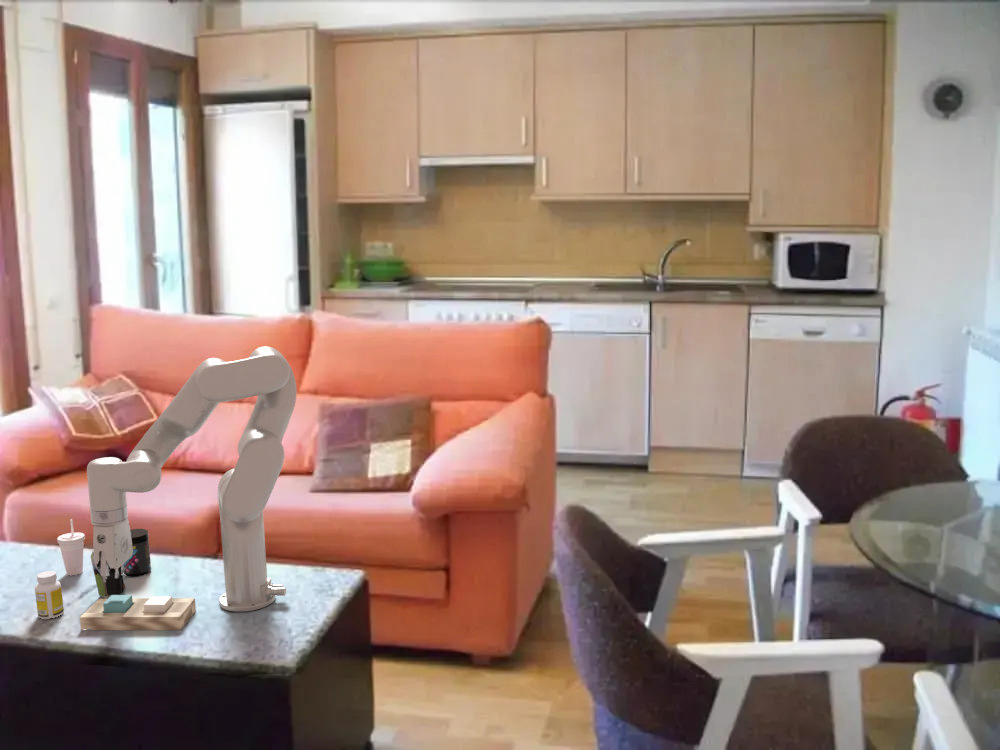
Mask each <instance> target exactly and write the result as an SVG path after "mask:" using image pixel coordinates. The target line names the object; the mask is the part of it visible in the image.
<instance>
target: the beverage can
mask: <svg viewBox="0 0 1000 750" xmlns="http://www.w3.org/2000/svg"><path fill="white" fill-rule="evenodd" d="M90 561H91V566H92V570H93V574H94V579H95V583H96V588H97V593H98V596H100V597H102V598H103V599H108V598H109V597H110V596H111V595H108V594H107V587H106V579H105V576H101V568H100V569H97V568H96V567H95V561H94V548H93V549H92V550H91V555H90ZM123 582H124V591H125V590H126V583H125V579H124V577H123Z"/></svg>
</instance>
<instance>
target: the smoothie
mask: <svg viewBox="0 0 1000 750" xmlns="http://www.w3.org/2000/svg"><path fill="white" fill-rule="evenodd" d="M69 521H70V522H69V523H70V531H71V532H67V533H64V534H63V533H62V535H61V534H60V535H59V536H58V537H57V538H56V539H57V544H59V548H60V549H59V550H60V552H61V556H62V557H61V558H62V560H63V565H64V568H65V572H66V575H67V576H68V575H70V576H71V577H72V575H75V576H78V575H77V574H79V575H81V574H82V573H83V572H84V571H83V570H84V569H83V568H84V545H85V544H84V543H85V542H84V541H85V540H86V535H85V533H83V532H80V531H79V532H75V531H74V520H73V518H71V519H69ZM80 573H81V574H80Z"/></svg>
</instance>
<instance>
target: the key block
mask: <svg viewBox="0 0 1000 750" xmlns="http://www.w3.org/2000/svg"><path fill="white" fill-rule="evenodd" d="M107 599H108V598H98V599H97V600H96V601H95V602H94V603H93V604H92V605H91V606H90V607H89V608H88V609H87V610H86V611H85V612H84V613H83V614H81V615H80V617H79V623H80V630H81V631H84V630H83V629H92V630H91V631H150V630H151V631H171V630H172V631H174V630H175V631H177V630H178V631H181V630H182V628H184V627H185V625H186V624H187V622H188V621H189V620H190V619H191V617H192V616H193V615H194V614H195V612H196V611H197V608H196V598H195V597H183V598H182V597H179V598H177V597H176V598H173V597H172V606H171V607H170V608H169V610H168V611H167V612H163V613H144V604H145V603H146V602H147V601H148V600H149V599H150V598H149V597H146V598H145V597H144V598H143V597H141V598H135V597H134V598H133V597H132V600H133V605H132V607H131V608H130V609H129V610H128V611H127V612H126V613H104V607H103V603H104V602H105V601H106V600H107Z"/></svg>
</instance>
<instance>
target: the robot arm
mask: <svg viewBox="0 0 1000 750" xmlns="http://www.w3.org/2000/svg"><path fill="white" fill-rule="evenodd" d="M296 382H297V381H296V378H295V374H294V371H293V369H292V367H291V365H290V363H289V362H288V360H287V359H286V358H285V356H284V355H283V354H282V353H281V352H280V351H279V350H278V349H276V348H275V347H273V346H272V347H271V346H259V347H258V348H255V350H254V351H252V352H251V354H249V357H248V358H244V359H243V358H242V359H239V360H238V359H237V360H234V361H226V360H224V359H221V358H217V357H211V358H210V357H209V358H207V359H205V360H203V361H202V362H200V364H199V365H198V366H197V367H196V369H195V370H194V371H193V372H192V374H191V375H190V376H189V377H188V379H187V381H186V382H185V383H184V384H183V385H182V387H181V388H180V389H179V391H178V392H177V393H176V395H175V396H174V397H173V399H172V400H171V401H170V403H169V404H168V405H167V407H166V408H165V409H164V410H163V412H161V414H160V415H159V417H158V418H157V419H156V420H155V421H154V422H153V424H152V425H151V426H150V427H149V429H148V430H147V431H146V432H145V433H144V435H143V436H142V438H141V439H140V440H139V441H138V443H137V444H136V445H135V447H134V448H133V449H132V451H131V452H130V454H129V455H128V457H127V458H126V461H122V459H120V458H118V457H115V456H108V457H107V456H106V457H100V458H95V459H93V460H90V462H88V464H87V466H86V477H87V485H88V486H87V488H88V497H89V499H88V500H89V510H90V511H89V512H90V523H91V524H92V525H93V534H92V537H93V538H92V539H93V540H92V541H93V544H92V545H93V549H94V561H95V567H96V568H97V569H100V568H101V576H105V579H106V587H107V594H108V595H123V593H124V592H125V590H124V583H125V581H124V582H123V578H124V573H123V564H124V563H125V562H126V561H127V560H128V559H129V558H130V557H131V556H132V554H133V547H132V538H131V531H130V530H131V528H130V527H131V526H130V522H129V514H128V497H127V493H148V492H151V491H153V490H155V489H156V488H157V487H158V486H159V485H160V483H161V480H162V468H163V466H164V464H166V462H167V461H168V460H169V458H170V456H171V455H172V454H173V453H174V451H175V450H176V449H177V448H178V447H179V446H180V445H181V443H183V442H184V441H185V440H186V439H188V438H190V437H192V436H194V435H195V434H197V433H198V432H199V431H200V430H201V428H202V427H203V426H204V424H205V423H206V422H207V420H208V419H209V417H210V416H211V415H212V414H213V412H214V411H215V409H216V408H217V407H218V405H219V404H220V403H227V402H233V401H239V400H244V399H248V398H253V397H257V398H256V401H255V405H254V406H253V408H252V412H251V414H250V416H249V419H248V421H247V423H246V426H245V427H244V430H243V432H242V434H241V437H240V438H239V441H238V444H237V453H238V459H237V462H236V464H235V466H234V468H232V469H229V470H227V471H226V472H225V473H224V474H223V475H222V476H221V478H220V479H219V481H218V484H217V502H218V510H219V518H220V519H219V520H220V532H221V534H220V535H221V545H222V549H221V550H222V558H223V560H222V561H223V572H224V573H223V575H224V587H225V589H224V590H225V593H223V594H222V595H221V596H220V597H219V599H218V600H219V601H218V602H219V606H220V607H221V608H222V609H223V610H226V611H229V612H237V613H239V612H251V611H256V610H259V609H263V608H266V607H268V606H269V605H271V604H272V603H273V602H274V601H275V599H276V596H282V597H283V596H284V597H285V596H286V594H287V588H286V586H285V587H284V583H283V584H282V583H279V584H278V583H277V584H274V583H272V578H271V577H268V570H267V555H266V553H267V552H266V540H265V523H264V510H265V508H266V505H267V504H268V501H269V499H270V497H271V495H272V492H273V490H274V488H275V485H276V483H277V480H278V478H279V476H280V473H281V472H282V469H283V465H284V461H285V449H284V446H283V444H282V443H283V438H284V437H285V434H286V431H287V430H288V427H289V424H290V420H291V418H292V415H293V413H294V410H295V406H296V401H297V395H298V394H297V392H298V390H297V383H296Z"/></svg>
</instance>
